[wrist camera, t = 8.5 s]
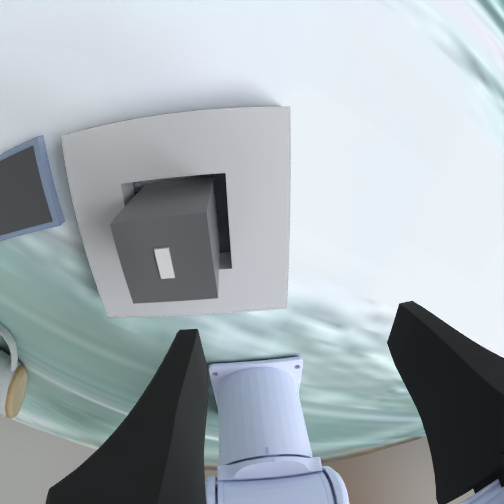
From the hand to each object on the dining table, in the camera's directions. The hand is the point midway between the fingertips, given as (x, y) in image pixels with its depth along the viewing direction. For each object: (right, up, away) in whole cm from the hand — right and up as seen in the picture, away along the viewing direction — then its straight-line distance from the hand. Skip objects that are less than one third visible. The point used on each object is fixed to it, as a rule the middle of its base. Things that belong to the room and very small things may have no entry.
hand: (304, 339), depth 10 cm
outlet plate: (-6, +5, +7) cm, 11 cm away
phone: (-20, +7, +6) cm, 22 cm away
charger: (-6, +5, +7) cm, 11 cm away
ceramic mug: (-30, -8, +12) cm, 33 cm away
